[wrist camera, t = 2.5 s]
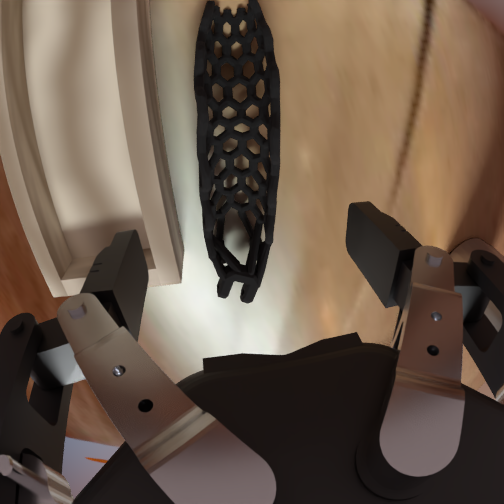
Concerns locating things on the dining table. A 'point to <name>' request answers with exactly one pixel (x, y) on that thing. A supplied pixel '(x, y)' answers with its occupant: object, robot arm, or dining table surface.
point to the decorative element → (205, 139)
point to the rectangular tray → (85, 136)
